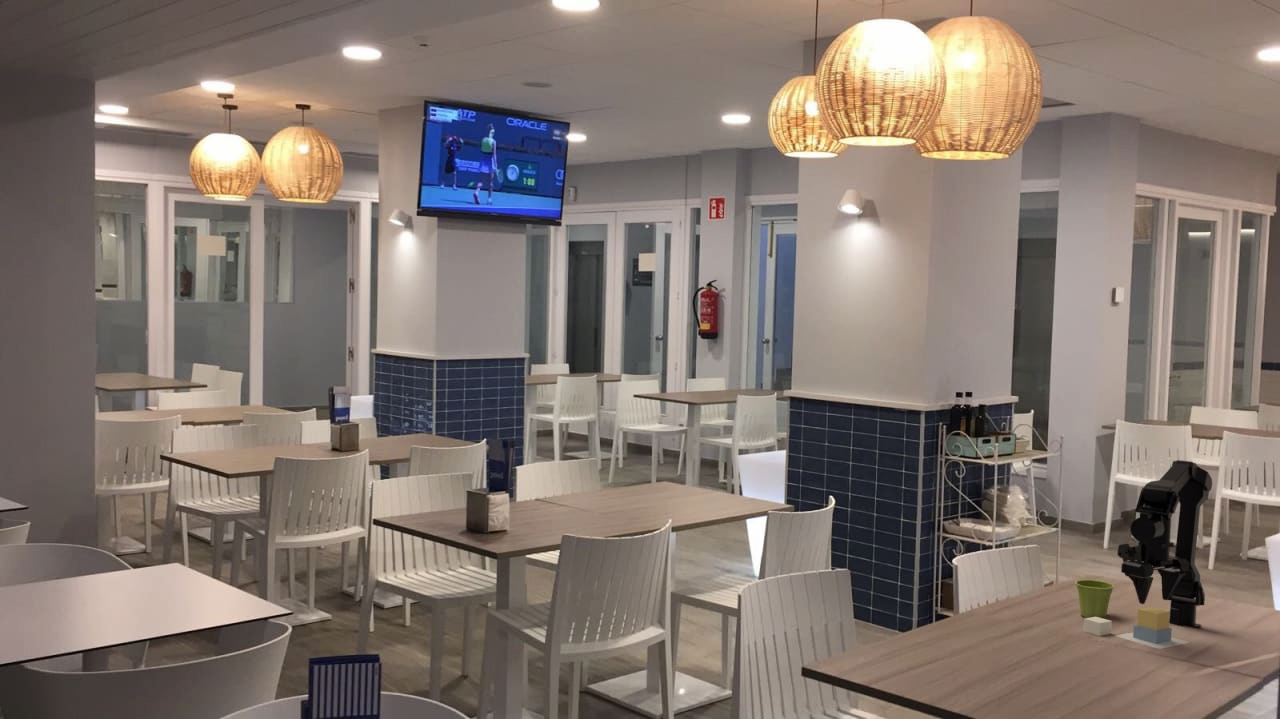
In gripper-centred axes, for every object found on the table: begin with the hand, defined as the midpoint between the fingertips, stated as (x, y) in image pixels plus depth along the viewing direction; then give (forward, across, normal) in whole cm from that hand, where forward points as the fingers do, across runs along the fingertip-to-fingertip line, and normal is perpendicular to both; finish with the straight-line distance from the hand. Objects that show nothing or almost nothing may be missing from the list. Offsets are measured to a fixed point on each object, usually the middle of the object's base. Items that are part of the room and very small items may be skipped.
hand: (1153, 601), depth 273 cm
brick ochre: (+6, 0, 0) cm, 6 cm away
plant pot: (+10, -8, -22) cm, 26 cm away
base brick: (+9, 0, 0) cm, 9 cm away
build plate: (+10, 0, 0) cm, 10 cm away
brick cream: (+10, +7, -10) cm, 16 cm away
